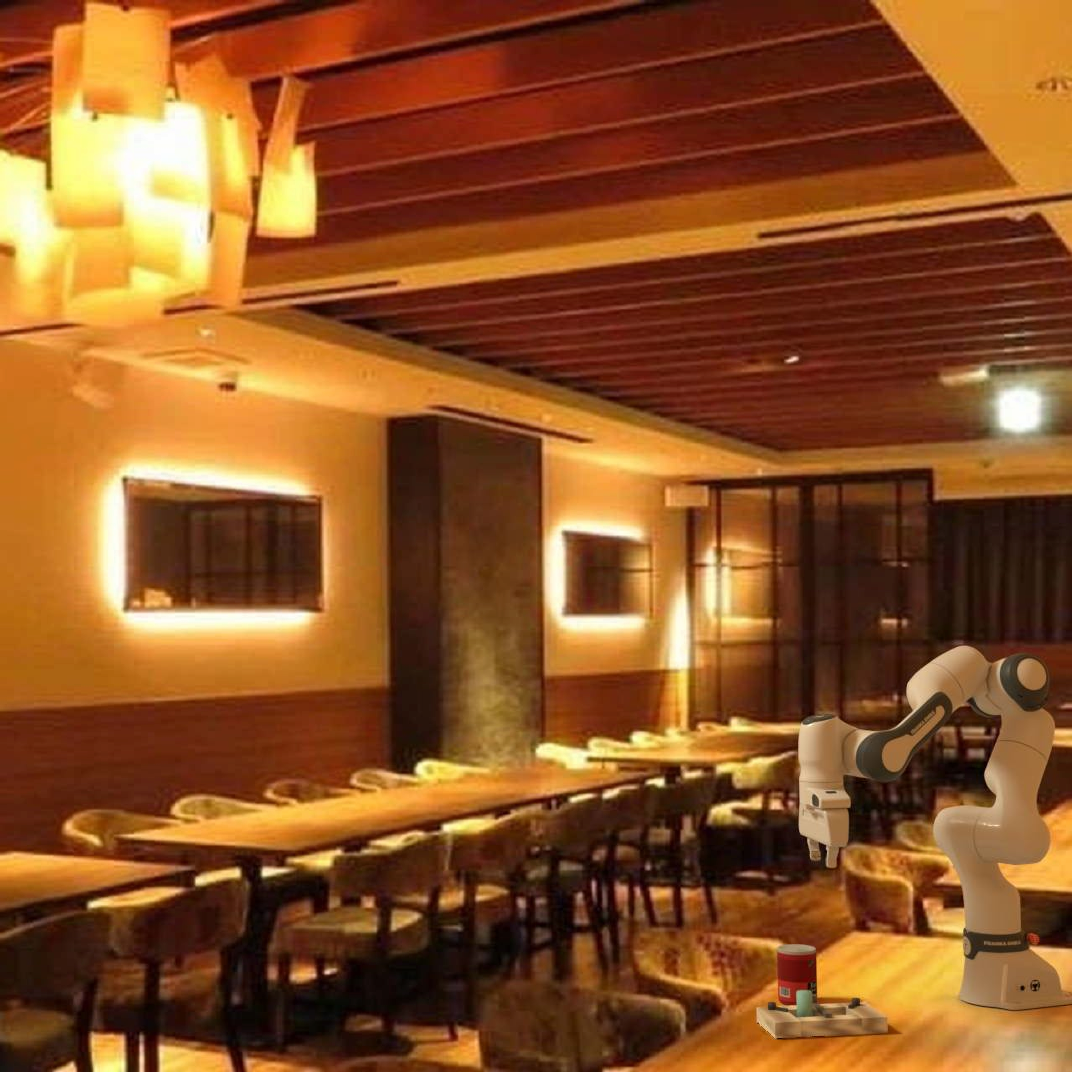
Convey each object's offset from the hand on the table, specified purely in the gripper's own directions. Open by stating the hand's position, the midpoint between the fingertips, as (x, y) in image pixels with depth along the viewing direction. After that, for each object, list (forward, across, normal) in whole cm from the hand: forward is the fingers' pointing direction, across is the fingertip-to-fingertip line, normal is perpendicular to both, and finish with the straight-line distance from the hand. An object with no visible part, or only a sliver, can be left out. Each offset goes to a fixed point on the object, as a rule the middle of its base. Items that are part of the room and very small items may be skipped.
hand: (823, 863), depth 316 cm
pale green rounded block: (+29, +14, -9) cm, 34 cm away
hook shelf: (+29, +14, -6) cm, 33 cm away
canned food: (+29, -6, -4) cm, 30 cm away
